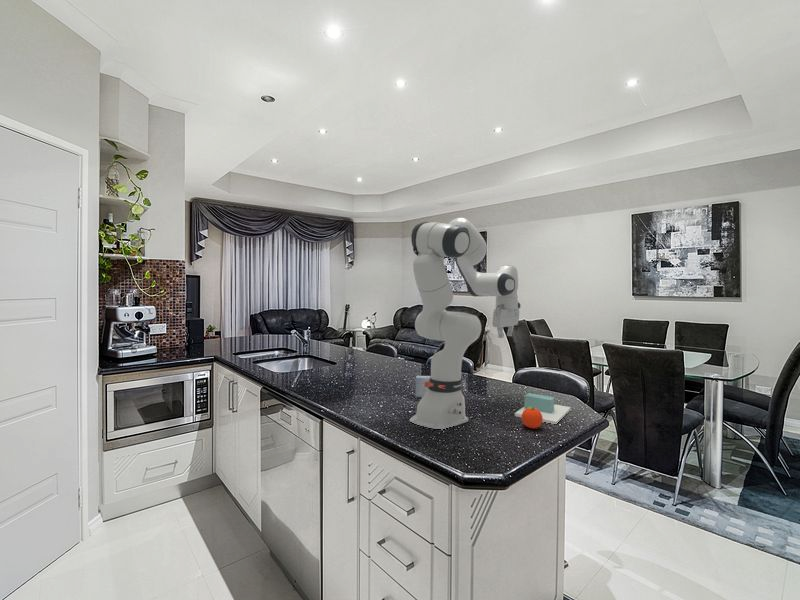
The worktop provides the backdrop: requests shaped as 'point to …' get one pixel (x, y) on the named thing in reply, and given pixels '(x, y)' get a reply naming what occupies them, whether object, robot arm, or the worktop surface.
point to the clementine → (532, 417)
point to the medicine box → (421, 385)
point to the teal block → (539, 402)
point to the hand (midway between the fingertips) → (505, 337)
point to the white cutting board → (550, 414)
